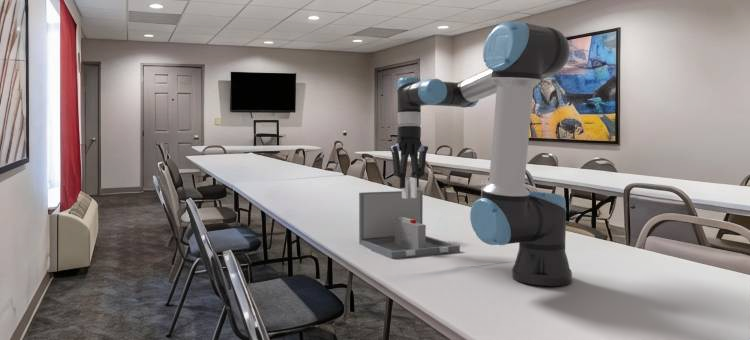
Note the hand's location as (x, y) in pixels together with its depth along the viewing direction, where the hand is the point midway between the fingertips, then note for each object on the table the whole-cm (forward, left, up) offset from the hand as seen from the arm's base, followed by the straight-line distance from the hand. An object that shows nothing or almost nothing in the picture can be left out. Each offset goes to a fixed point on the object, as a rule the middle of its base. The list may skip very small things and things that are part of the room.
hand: (409, 197), depth 166 cm
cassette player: (0, 0, -17) cm, 17 cm away
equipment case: (0, 0, -17) cm, 17 cm away
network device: (+19, -46, -17) cm, 53 cm away
